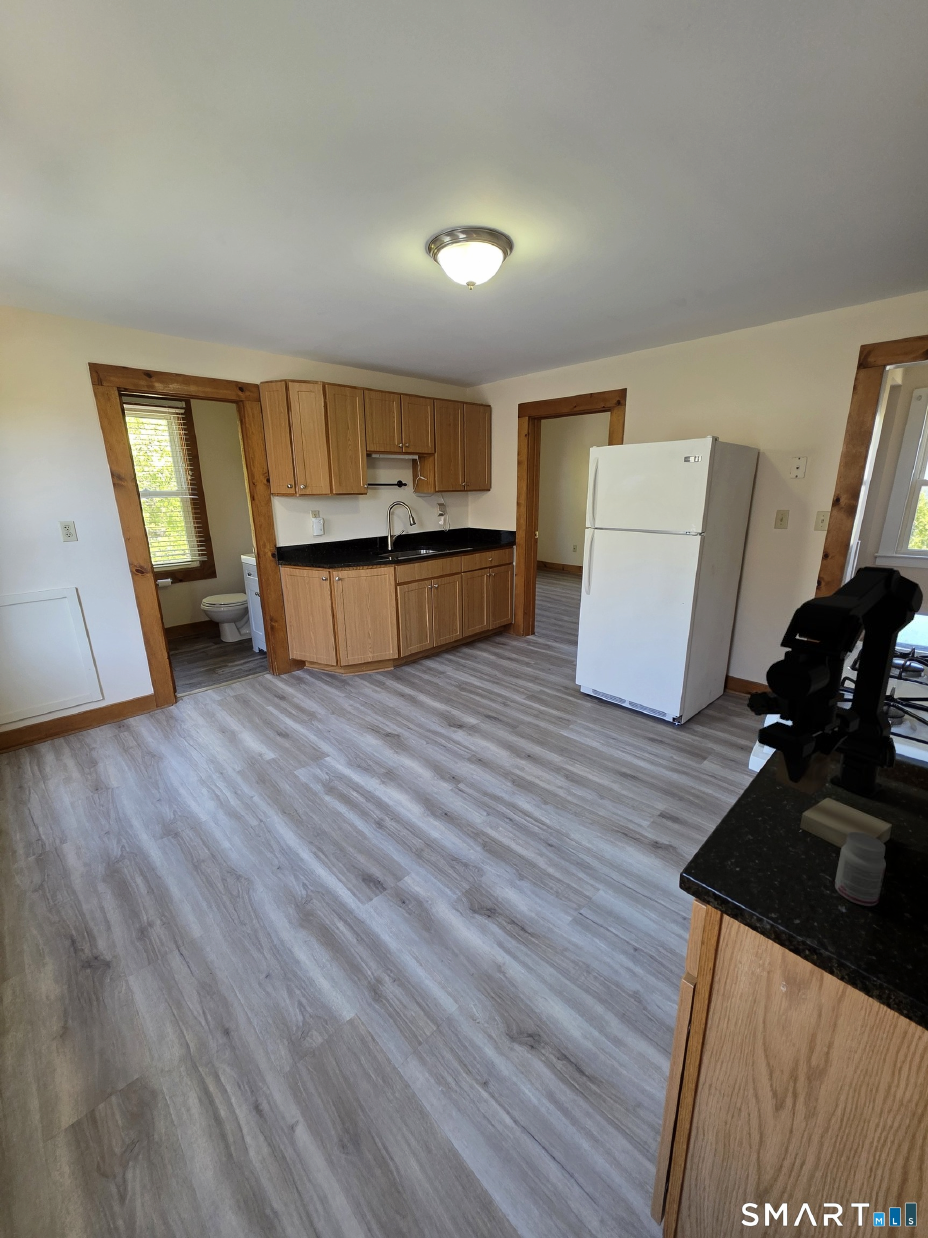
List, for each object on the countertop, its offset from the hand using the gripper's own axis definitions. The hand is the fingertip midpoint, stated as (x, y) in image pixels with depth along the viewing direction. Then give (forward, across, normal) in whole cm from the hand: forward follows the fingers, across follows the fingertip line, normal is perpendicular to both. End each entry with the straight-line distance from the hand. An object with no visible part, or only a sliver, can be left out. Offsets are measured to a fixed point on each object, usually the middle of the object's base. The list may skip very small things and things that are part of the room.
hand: (802, 776), depth 76 cm
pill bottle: (+11, +6, +11) cm, 16 cm away
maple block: (+11, -8, +4) cm, 14 cm away
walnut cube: (+1, 0, 0) cm, 1 cm away
